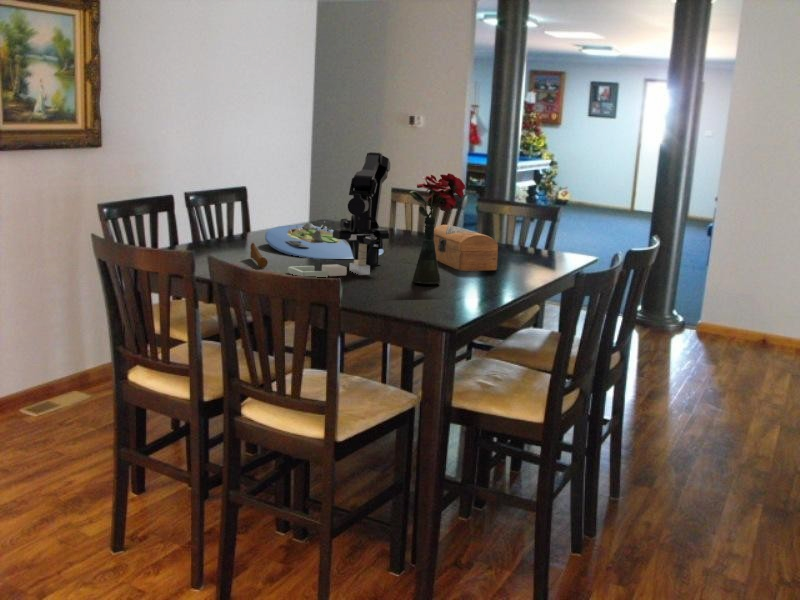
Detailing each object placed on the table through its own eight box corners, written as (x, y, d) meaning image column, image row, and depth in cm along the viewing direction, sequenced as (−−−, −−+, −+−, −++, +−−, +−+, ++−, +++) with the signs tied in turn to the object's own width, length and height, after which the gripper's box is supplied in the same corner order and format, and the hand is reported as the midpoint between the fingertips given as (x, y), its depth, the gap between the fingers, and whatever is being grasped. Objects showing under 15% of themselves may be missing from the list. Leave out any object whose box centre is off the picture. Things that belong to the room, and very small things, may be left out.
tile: (337, 273, 273) (337, 264, 272) (346, 276, 268) (346, 267, 267) (321, 273, 269) (321, 264, 269) (330, 277, 265) (330, 267, 264)
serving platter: (400, 270, 311) (404, 239, 307) (298, 276, 287) (302, 242, 283) (342, 238, 345) (345, 209, 341) (247, 241, 321) (249, 210, 317)
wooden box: (422, 260, 314) (425, 224, 311) (461, 260, 320) (464, 224, 317) (455, 273, 287) (457, 233, 284) (497, 273, 292) (500, 234, 290)
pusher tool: (359, 271, 277) (361, 242, 276) (369, 274, 272) (371, 245, 270) (349, 271, 275) (350, 242, 273) (359, 275, 270) (360, 245, 268)
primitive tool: (251, 257, 289) (242, 256, 287) (253, 242, 287) (243, 241, 286) (267, 268, 272) (257, 268, 270) (269, 252, 271) (259, 252, 269)
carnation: (395, 277, 270) (402, 170, 263) (447, 277, 276) (454, 172, 269) (412, 285, 255) (419, 172, 248) (466, 285, 261) (474, 175, 255)
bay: (313, 271, 271) (313, 265, 270) (327, 277, 261) (327, 271, 261) (287, 272, 266) (288, 266, 266) (301, 278, 257) (302, 272, 256)
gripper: (375, 210, 281) (372, 255, 284) (326, 210, 272) (324, 256, 275) (391, 214, 272) (388, 260, 275) (341, 213, 262) (339, 261, 265)
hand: (360, 259), depth 273 cm, fingers open, 3 cm apart
